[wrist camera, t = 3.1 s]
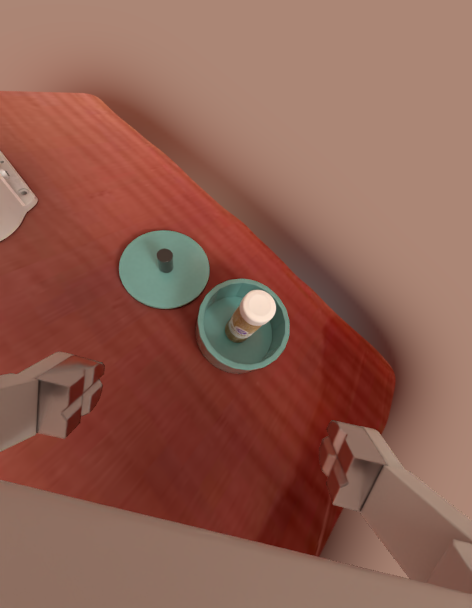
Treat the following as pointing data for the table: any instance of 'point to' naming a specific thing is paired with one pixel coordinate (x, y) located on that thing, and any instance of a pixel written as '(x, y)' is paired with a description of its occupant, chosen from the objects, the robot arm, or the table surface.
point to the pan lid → (164, 269)
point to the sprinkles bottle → (250, 315)
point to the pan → (256, 347)
